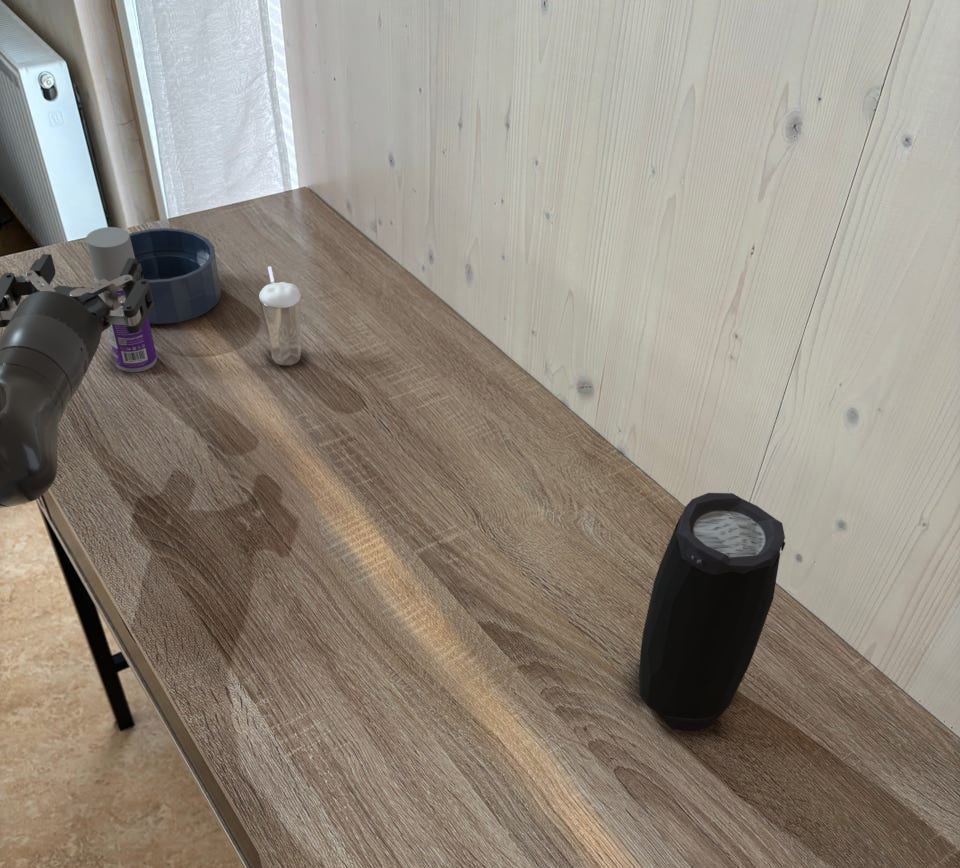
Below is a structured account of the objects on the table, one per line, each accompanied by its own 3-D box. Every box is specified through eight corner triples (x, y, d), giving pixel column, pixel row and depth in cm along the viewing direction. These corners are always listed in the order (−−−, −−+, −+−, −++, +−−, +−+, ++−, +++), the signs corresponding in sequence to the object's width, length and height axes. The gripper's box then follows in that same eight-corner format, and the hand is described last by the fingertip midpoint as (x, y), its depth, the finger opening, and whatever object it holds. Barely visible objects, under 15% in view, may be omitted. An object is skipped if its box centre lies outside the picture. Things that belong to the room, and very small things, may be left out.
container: (164, 355, 122) (139, 231, 111) (143, 376, 119) (115, 251, 108) (129, 346, 123) (100, 223, 112) (107, 367, 120) (75, 242, 109)
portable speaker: (754, 698, 91) (818, 528, 76) (684, 755, 86) (738, 587, 72) (678, 641, 95) (726, 471, 80) (608, 693, 90) (645, 522, 76)
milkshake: (296, 341, 125) (288, 262, 118) (311, 364, 122) (304, 285, 115) (259, 348, 124) (249, 269, 117) (274, 372, 121) (264, 292, 113)
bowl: (112, 332, 125) (101, 286, 120) (112, 277, 133) (102, 231, 129) (225, 323, 127) (218, 277, 123) (218, 269, 136) (211, 224, 131)
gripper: (115, 319, 93) (156, 232, 103) (-48, 312, 92) (10, 225, 103) (132, 391, 98) (169, 301, 109) (-22, 384, 98) (31, 295, 109)
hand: (92, 264), depth 106 cm, fingers open, 8 cm apart
